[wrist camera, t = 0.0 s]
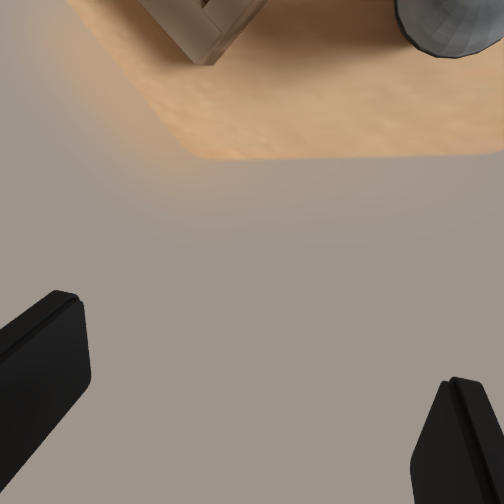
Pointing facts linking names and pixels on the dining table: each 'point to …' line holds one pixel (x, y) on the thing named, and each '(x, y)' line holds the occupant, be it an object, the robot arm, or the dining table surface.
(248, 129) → the dining table surface
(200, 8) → the wooden corner bracket
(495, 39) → the beverage cup
